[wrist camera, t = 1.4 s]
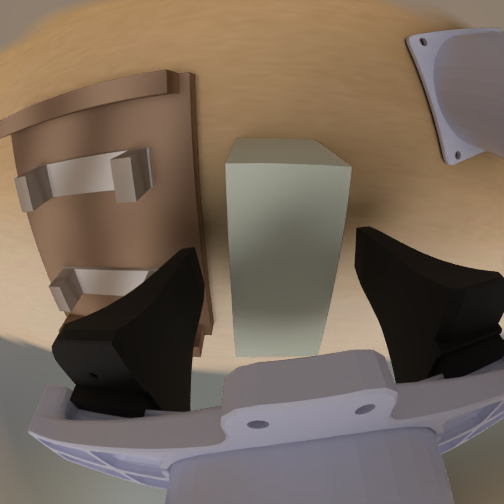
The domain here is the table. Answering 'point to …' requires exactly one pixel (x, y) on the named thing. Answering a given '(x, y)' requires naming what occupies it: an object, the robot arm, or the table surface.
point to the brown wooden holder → (111, 187)
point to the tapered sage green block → (283, 242)
